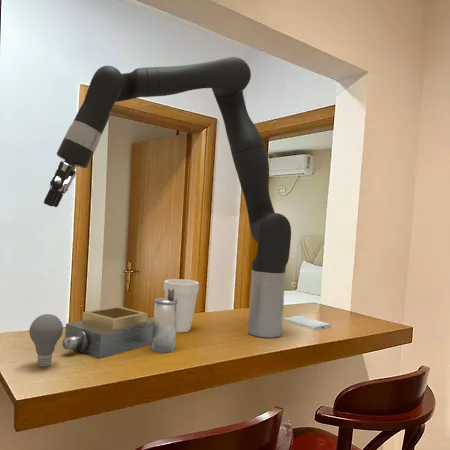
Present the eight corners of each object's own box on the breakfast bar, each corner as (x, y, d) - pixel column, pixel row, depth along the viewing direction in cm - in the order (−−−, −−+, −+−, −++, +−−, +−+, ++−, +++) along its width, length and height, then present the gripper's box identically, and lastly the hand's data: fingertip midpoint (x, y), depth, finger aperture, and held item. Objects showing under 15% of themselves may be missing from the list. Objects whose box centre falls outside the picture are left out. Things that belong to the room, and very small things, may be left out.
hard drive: (283, 317, 131) (314, 326, 122) (300, 315, 136) (331, 323, 127) (282, 323, 131) (314, 332, 122) (299, 320, 136) (331, 328, 127)
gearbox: (125, 331, 108) (127, 303, 108) (159, 341, 102) (161, 311, 102) (48, 349, 90) (50, 316, 90) (83, 363, 83) (85, 327, 83)
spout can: (162, 344, 99) (166, 285, 99) (179, 349, 96) (183, 289, 96) (146, 349, 95) (150, 287, 95) (163, 354, 92) (167, 291, 92)
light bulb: (59, 370, 79) (62, 318, 79) (24, 372, 77) (27, 318, 77) (62, 360, 84) (65, 311, 84) (30, 361, 83) (33, 311, 83)
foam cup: (190, 335, 108) (193, 285, 108) (156, 331, 110) (159, 282, 110) (199, 326, 118) (202, 281, 117) (168, 323, 119) (171, 278, 119)
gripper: (93, 147, 95) (62, 212, 93) (95, 155, 108) (68, 212, 107) (61, 131, 93) (29, 197, 91) (67, 142, 106) (39, 199, 105)
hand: (50, 205), depth 99 cm, fingers open, 8 cm apart
